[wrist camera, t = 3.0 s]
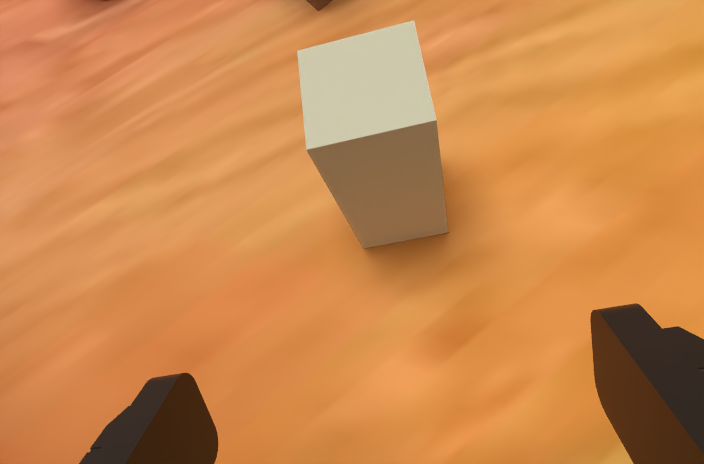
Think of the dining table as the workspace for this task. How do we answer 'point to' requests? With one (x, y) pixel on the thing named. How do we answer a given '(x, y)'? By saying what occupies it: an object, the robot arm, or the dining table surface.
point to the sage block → (375, 133)
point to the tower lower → (319, 3)
